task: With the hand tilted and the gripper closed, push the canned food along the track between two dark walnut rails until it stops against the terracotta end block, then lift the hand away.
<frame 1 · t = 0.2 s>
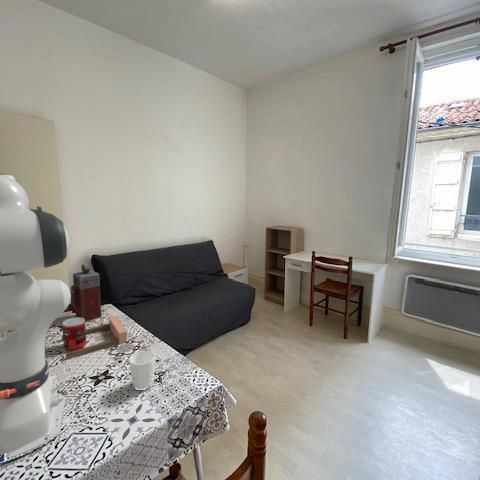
hand: (16, 266, 90), 38 cm above the table, tool pointing down, fingers open, 8 cm apart
white cup: (143, 384, 91), on the table
guide rails: (90, 341, 115), on the table
end stop: (117, 334, 122), on the table
canned food: (75, 346, 112), on the table
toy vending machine: (86, 318, 137), on the table
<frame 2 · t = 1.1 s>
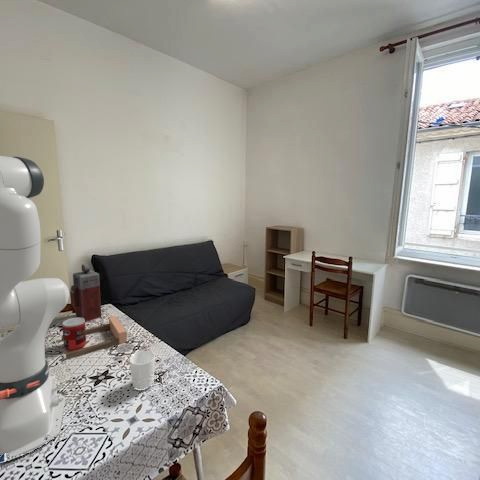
hand: (0, 303, 95), 24 cm above the table, tool tilted 45°, fingers open, 6 cm apart
nothing on the table moved.
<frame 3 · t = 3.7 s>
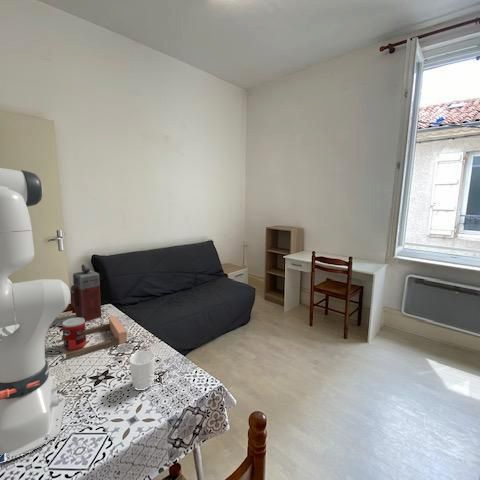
hand: (34, 337, 103), 8 cm above the table, tool tilted 45°, fingers closed
nothing on the table moved.
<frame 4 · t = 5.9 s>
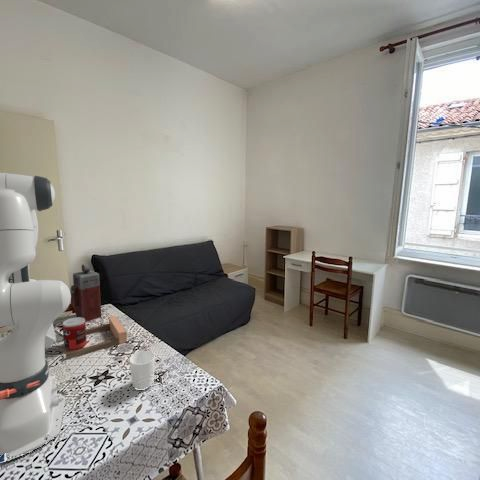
hand: (61, 338, 108), 5 cm above the table, tool tilted 45°, fingers closed, pressing on canned food
canned food: (75, 346, 112), on the table, touching gripper
everything else where it was.
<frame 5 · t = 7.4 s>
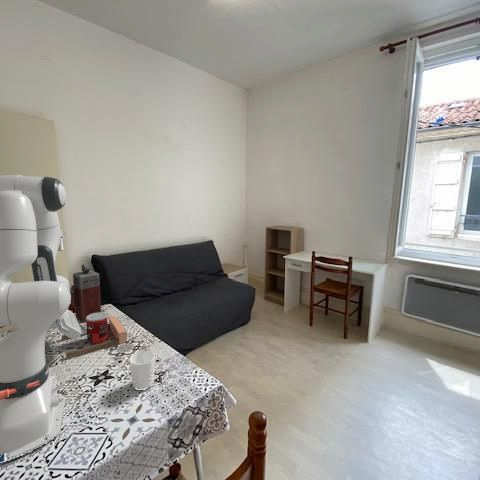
hand: (85, 332, 114), 5 cm above the table, tool tilted 45°, fingers closed, pressing on canned food
canned food: (98, 340, 117), on the table, touching gripper
everything else where it was.
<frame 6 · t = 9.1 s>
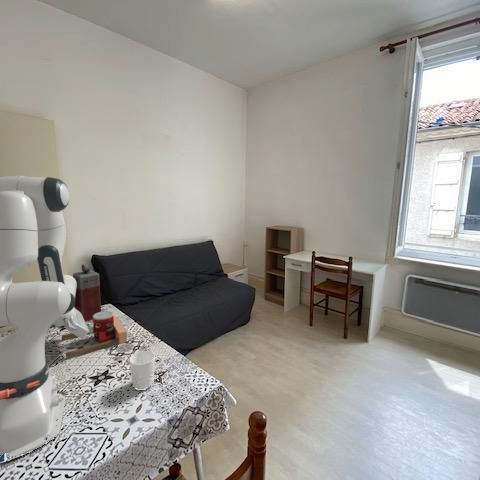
hand: (91, 330, 115), 5 cm above the table, tool tilted 45°, fingers closed
canned food: (104, 338, 119), on the table
everything else where it was.
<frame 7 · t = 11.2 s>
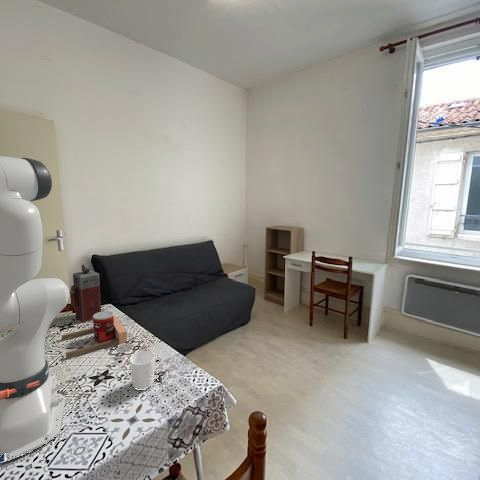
hand: (15, 296, 97), 25 cm above the table, tool tilted 45°, fingers closed
nothing on the table moved.
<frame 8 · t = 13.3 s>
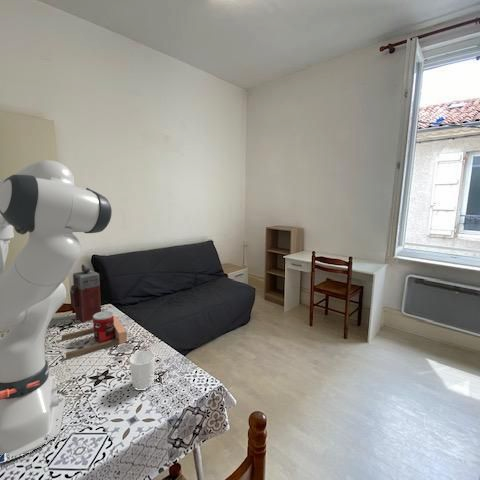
hand: (1, 273, 92), 35 cm above the table, tool pointing down, fingers closed
nothing on the table moved.
at the end: canned food 0.0 cm from the target spot, on the table; canned food tilted 0° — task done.
